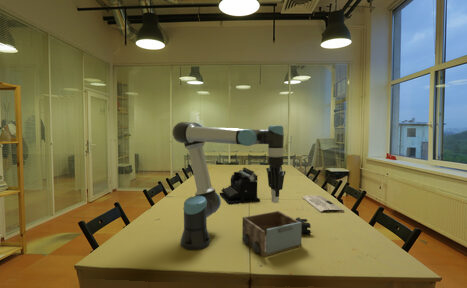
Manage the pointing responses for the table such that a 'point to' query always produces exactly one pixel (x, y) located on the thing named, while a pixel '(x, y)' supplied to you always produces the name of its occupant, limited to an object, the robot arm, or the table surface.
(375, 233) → the table surface
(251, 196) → the typewriter
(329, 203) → the newspaper
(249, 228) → the box
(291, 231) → the panel
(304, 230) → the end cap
